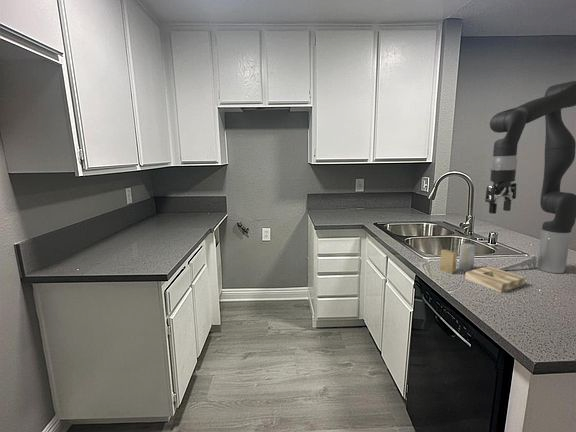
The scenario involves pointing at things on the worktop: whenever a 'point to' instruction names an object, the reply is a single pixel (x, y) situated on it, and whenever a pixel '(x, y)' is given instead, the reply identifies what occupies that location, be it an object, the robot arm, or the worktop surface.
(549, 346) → the worktop surface
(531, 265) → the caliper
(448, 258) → the light brown wooden block
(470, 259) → the square bit
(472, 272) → the socket block
